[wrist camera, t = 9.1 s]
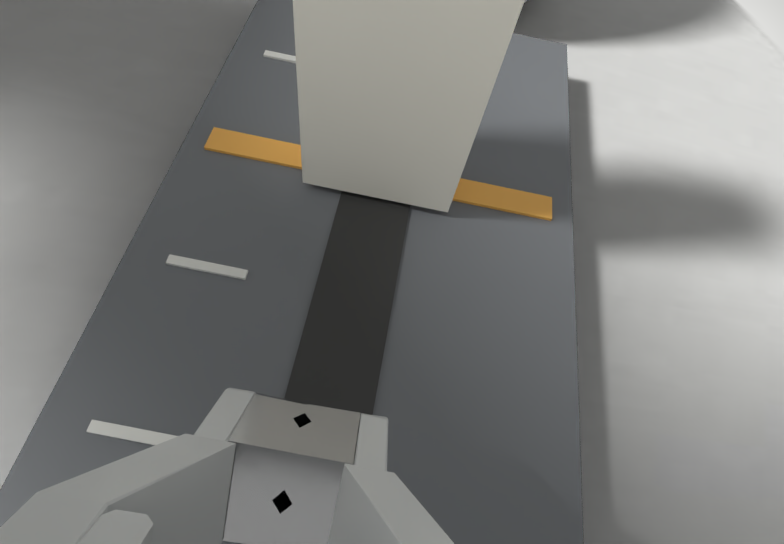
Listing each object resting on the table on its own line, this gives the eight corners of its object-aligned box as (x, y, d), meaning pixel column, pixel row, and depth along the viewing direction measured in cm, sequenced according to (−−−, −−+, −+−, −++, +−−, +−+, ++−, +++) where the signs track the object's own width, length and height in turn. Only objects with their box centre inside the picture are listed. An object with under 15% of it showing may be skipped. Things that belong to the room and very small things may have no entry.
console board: (554, 1113, 9) (611, 1251, 7) (-195, 990, 9) (-328, 1101, 7) (549, 80, 25) (567, 41, 23) (272, 21, 24) (268, -23, 22)
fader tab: (450, 215, 17) (657, -341, 6) (299, 184, 17) (258, -433, 6) (458, 147, 18) (634, -383, 8) (321, 118, 18) (318, -457, 8)
